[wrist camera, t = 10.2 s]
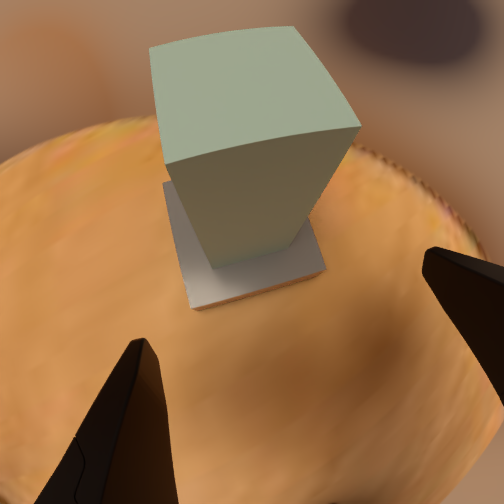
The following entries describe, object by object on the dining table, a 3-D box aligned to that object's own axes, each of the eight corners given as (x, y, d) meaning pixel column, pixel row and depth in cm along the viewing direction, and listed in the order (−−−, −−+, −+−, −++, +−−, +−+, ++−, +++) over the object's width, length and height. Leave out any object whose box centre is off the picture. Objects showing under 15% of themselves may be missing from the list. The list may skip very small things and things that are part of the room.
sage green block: (287, 248, 19) (361, 125, 7) (212, 269, 18) (164, 164, 6) (264, 181, 20) (292, 26, 8) (194, 199, 19) (149, 48, 7)
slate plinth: (315, 276, 21) (326, 269, 18) (197, 310, 20) (190, 308, 18) (278, 172, 23) (282, 153, 20) (171, 199, 22) (162, 183, 20)
